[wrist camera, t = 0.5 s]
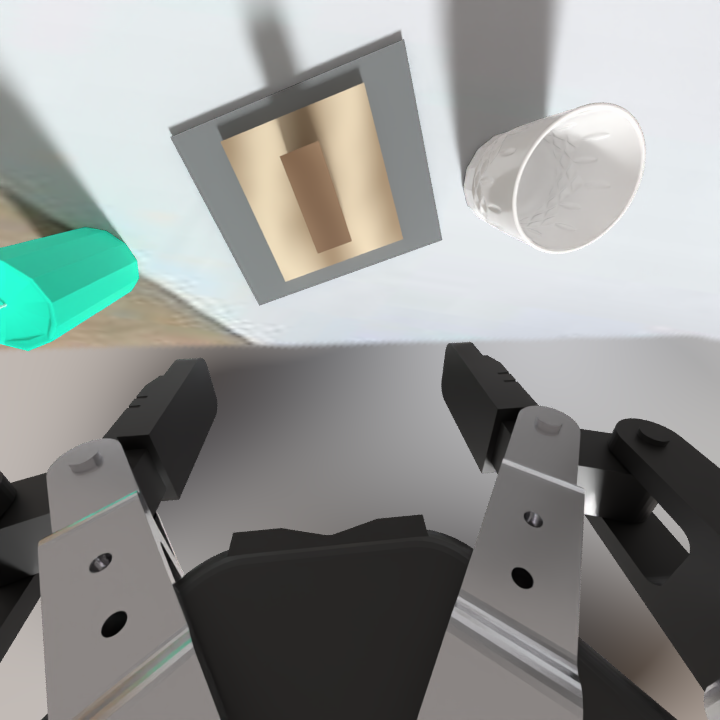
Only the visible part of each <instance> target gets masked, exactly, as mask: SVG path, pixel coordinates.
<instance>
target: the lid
mask: <svg viewBox="0 0 720 720" xmlns="http://www.w3.org/2000/svg"><path fill="white" fill-rule="evenodd" d="M221 144H222V146H223V148H224V150H225V153H226V155H227V157H228V159H229V161H230V163H231V166H232V168H233V170H234V172H235V174H236V176H237V178H238V181H239V183H240V185H241V187H242V189H243V191H244V194H245V196H246V198H247V200H248V202H249V204H250V206H251V209H252V211H253V213H254V215H255V217H256V219H257V221H258V224H259V226H260V228H261V230H262V232H263V234H264V237H265V239H266V241H267V243H268V245H269V247H270V249H271V252H272V254H273V256H274V258H275V260H276V262H277V265H278V267H279V269H280V271H281V273H282V275H283V277H284V280H285V282H286V281H289V280H292V279H295V278H297V277H300V276H303V275H306V274H308V273H311V272H314V271H317V270H320V269H322V268H325V267H328V266H331V265H333V264H336V263H339V262H342V261H344V260H347V259H350V258H353V257H355V256H358V255H361V254H364V253H366V252H369V251H372V250H375V249H377V248H380V247H383V246H386V245H388V244H391V243H394V242H397V241H399V240H402V239H403V236H402V232H401V228H400V224H399V220H398V216H397V212H396V208H395V204H394V200H393V196H392V192H391V188H390V184H389V180H388V176H387V172H386V168H385V164H384V160H383V156H382V152H381V148H380V144H379V140H378V136H377V132H376V128H375V124H374V120H373V116H372V112H371V108H370V104H369V100H368V96H367V93H366V89H365V85H364V83H362V84H359V85H357V86H354V87H352V88H350V89H347V90H345V91H342V92H340V93H337V94H335V95H333V96H330V97H328V98H325V99H323V100H320V101H318V102H316V103H313V104H311V105H308V106H306V107H303V108H301V109H299V110H296V111H294V112H291V113H289V114H286V115H284V116H282V117H279V118H277V119H274V120H272V121H269V122H267V123H265V124H262V125H260V126H257V127H255V128H252V129H250V130H248V131H245V132H243V133H240V134H238V135H235V136H233V137H231V138H228V139H226V140H223V141H221Z"/></svg>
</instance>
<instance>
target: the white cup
mask: <svg viewBox="0 0 720 720" xmlns="http://www.w3.org/2000/svg"><path fill="white" fill-rule="evenodd" d="M645 159H646V147H645V139H644V135H643V132H642V129H641V127H640V125H639V123H638V122H637V120H636V119H635V117H634V116H633V115H632V114H631V113H630V112H628V111H627V110H626V109H624V108H622V107H620V106H618V105H615V104H610V103H592V104H587V105H584V106H580V107H577V108H574V109H571V110H568V111H565V112H561V113H558V114H555V115H551V116H548V117H545V118H541V119H538V120H535V121H533V122H530V123H527V124H524V125H521V126H519V127H516V128H514V129H512V130H510V131H508V132H506V133H502V134H498V135H495V136H494V137H492V138H491V139H490V140H489V141H487V142H486V143H485V144H484V145H482V146H481V147H480V148H479V149H478V150H477V152H476V153H475V155H474V157H473V158H472V160H471V162H470V164H469V165H468V167H467V170H466V176H465V182H464V188H463V189H464V193H465V197H466V201H467V206H468V207H469V208H470V209H471V211H472V212H473V213H474V214H475V215H476V216H477V217H478V218H479V219H481V220H483V221H485V222H487V223H488V224H490V225H491V226H492V227H494V228H496V229H498V230H500V231H501V232H503V233H505V234H507V235H509V236H511V237H513V238H515V239H517V240H519V241H521V242H523V243H525V244H527V245H529V246H531V247H533V248H535V249H537V250H540V251H542V252H546V253H554V254H559V253H567V252H572V251H575V250H578V249H581V248H583V247H585V246H587V245H589V244H591V243H592V242H594V241H596V240H597V239H599V238H600V237H601V236H603V235H604V234H605V233H606V232H607V231H609V230H610V229H611V228H612V227H613V226H614V225H615V224H616V223H617V221H618V220H619V219H620V218H621V217H622V215H623V214H624V213H625V211H626V210H627V208H628V207H629V205H630V204H631V202H632V200H633V198H634V196H635V194H636V192H637V190H638V188H639V185H640V182H641V179H642V176H643V172H644V167H645Z"/></svg>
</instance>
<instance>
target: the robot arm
mask: <svg viewBox="0 0 720 720" xmlns="http://www.w3.org/2000/svg"><path fill="white" fill-rule="evenodd" d="M441 385H442V386H441V387H442V394H443V398H444V400H445V402H446V404H447V406H448V408H449V410H450V412H451V414H452V416H453V418H454V420H455V422H456V424H457V426H458V428H459V430H460V432H461V434H462V436H463V438H464V440H465V442H466V444H467V446H468V447H469V449H470V451H471V453H472V455H473V457H474V459H475V461H476V463H477V465H478V467H479V469H480V471H481V473H482V474H483V473H494V472H497V474H498V476H497V479H496V482H495V485H494V488H493V491H492V494H491V497H490V501H489V503H488V506H487V509H486V512H485V516H484V519H483V522H482V525H481V528H480V531H479V534H478V537H477V540H476V543H475V546H474V549H473V548H471V547H470V546H468V545H467V544H465V543H463V542H461V541H459V540H458V539H456V538H453V537H451V536H448V535H446V534H443V533H439V532H436V531H432V530H426V526H425V522H424V519H423V515H412V516H402V517H392V518H381V519H376V520H373V521H370V522H367V523H365V524H362V525H359V526H356V527H353V528H351V529H348V530H345V531H342V532H340V533H336V534H333V535H321V534H314V533H308V532H302V531H295V530H288V529H283V528H280V529H269V530H258V531H247V532H237V533H233V536H232V540H231V544H230V548H229V550H227V551H224V552H222V553H220V554H218V555H216V556H213V557H211V558H210V559H208V560H206V561H204V562H203V563H201V564H199V565H198V566H196V567H195V568H194V569H192V570H191V571H190V572H188V573H187V574H186V575H184V573H183V571H182V568H181V566H180V564H179V562H178V559H177V557H176V555H175V552H174V550H173V548H172V545H171V543H170V540H169V538H168V536H167V533H166V531H165V528H164V526H163V524H162V521H161V519H160V517H159V515H158V513H157V511H156V510H157V508H158V506H159V504H160V502H161V501H168V500H179V499H180V496H181V494H182V492H183V489H184V487H185V485H186V483H187V480H188V478H189V475H190V473H191V471H192V469H193V467H194V464H195V462H196V460H197V458H198V455H199V453H200V451H201V448H202V446H203V444H204V442H205V439H206V437H207V435H208V432H209V430H210V428H211V426H212V423H213V421H214V419H215V417H216V413H217V397H216V394H215V391H214V388H213V384H212V381H211V377H210V374H209V371H208V367H207V364H206V362H205V360H204V359H202V358H194V359H179V360H176V361H175V362H174V363H173V364H172V365H171V367H170V368H169V369H168V371H167V372H166V373H165V375H164V376H159V377H158V378H156V379H155V380H153V381H152V382H150V383H149V384H147V385H146V386H145V387H144V388H143V389H142V390H141V392H140V393H139V394H138V395H137V399H134V401H132V403H131V404H130V405H129V408H127V409H126V410H125V411H124V412H123V414H122V415H121V416H120V417H119V419H118V420H117V421H116V422H115V423H114V425H113V426H112V427H111V428H110V430H109V431H108V432H107V433H106V434H105V436H104V437H103V438H102V439H97V440H92V441H89V442H86V443H83V444H81V445H79V446H76V447H74V448H73V449H71V450H69V451H67V452H66V453H64V454H63V455H62V456H60V457H59V458H58V459H57V460H56V461H55V462H54V463H53V464H52V465H51V466H50V468H49V469H48V472H47V473H44V474H40V475H37V476H34V477H30V478H26V479H23V480H20V481H16V482H13V483H10V482H9V481H8V479H7V478H6V477H5V476H4V475H3V473H2V472H0V662H1V661H2V659H3V657H4V656H5V654H6V652H7V651H8V649H9V647H10V646H11V644H12V642H13V641H14V639H15V638H16V636H17V634H18V633H19V631H20V629H21V628H22V626H23V624H24V622H25V621H26V619H27V618H28V616H29V614H30V613H31V611H32V610H33V608H34V606H35V605H36V603H37V601H38V600H39V598H40V597H41V609H42V624H43V625H42V626H43V641H44V658H45V673H46V691H47V706H48V714H47V715H46V716H45V717H44V718H43V719H42V720H677V719H676V718H675V717H673V716H672V715H671V714H670V713H669V712H667V711H666V710H665V709H664V708H662V707H661V706H660V705H659V704H658V703H656V701H654V700H653V699H652V698H651V697H650V696H648V695H647V694H646V693H645V692H643V691H642V690H641V689H640V688H639V687H638V686H636V685H635V684H634V683H633V682H632V681H631V680H629V679H628V678H627V677H626V676H625V675H623V674H622V673H621V672H620V671H618V669H616V668H615V667H614V666H613V665H612V664H610V663H609V662H608V661H607V660H606V659H605V658H603V657H602V656H601V655H600V654H599V653H597V652H596V651H595V650H594V649H593V648H591V647H590V646H589V645H588V644H587V643H586V642H584V641H583V640H582V639H581V638H580V637H578V630H579V629H578V628H579V608H580V587H581V586H580V585H581V565H582V544H583V524H584V515H585V516H586V517H587V519H588V520H589V522H590V523H591V525H592V526H593V528H594V529H595V531H596V532H597V534H598V535H599V537H600V538H601V540H602V541H603V542H604V544H605V545H606V547H607V548H608V550H609V551H610V553H611V554H612V556H613V557H614V559H615V560H616V562H617V563H618V565H619V566H620V567H621V569H622V571H623V572H624V573H625V575H626V577H627V578H628V579H629V581H630V582H631V584H632V585H633V587H634V588H635V590H636V591H637V593H638V594H639V595H640V597H641V599H642V600H643V602H644V603H645V605H646V606H647V608H648V609H649V610H650V612H651V613H652V615H653V616H654V618H655V619H656V621H657V622H658V624H659V625H660V627H661V628H662V630H663V631H664V632H665V634H666V636H667V637H668V638H669V640H670V641H671V643H672V644H673V646H674V647H675V649H676V650H677V652H678V653H679V655H680V656H681V658H682V659H683V661H684V662H685V663H686V665H687V667H688V668H689V669H690V671H691V672H692V674H693V675H694V677H695V678H696V680H697V681H698V683H699V684H700V686H701V687H702V689H703V690H704V692H705V694H704V706H705V711H706V715H707V718H708V720H720V468H718V467H717V466H716V465H715V464H714V463H712V462H711V461H710V460H709V459H708V458H706V457H705V456H704V455H703V454H701V453H700V452H699V451H698V450H696V449H695V448H694V447H693V446H692V445H690V444H689V443H688V442H686V441H685V440H684V439H683V438H682V437H680V436H679V435H677V434H676V433H675V432H673V431H672V430H670V429H667V428H666V427H664V426H661V425H659V424H656V423H654V422H650V421H647V420H642V419H631V418H630V419H623V420H621V421H619V422H618V423H617V424H616V426H615V429H614V431H613V433H604V432H598V431H591V430H584V429H580V428H579V426H578V425H577V423H576V422H575V421H574V420H573V419H572V418H571V417H569V416H568V415H566V414H564V413H562V412H560V411H558V410H556V409H553V408H549V407H544V406H539V405H538V404H537V403H536V402H535V401H534V400H533V399H532V398H531V397H530V395H529V394H528V393H527V392H526V391H525V390H524V389H523V388H522V386H521V385H520V384H519V383H518V382H516V381H515V379H514V377H513V376H512V375H511V374H509V372H508V371H507V370H506V369H505V367H504V366H503V365H502V364H501V363H500V362H498V361H496V360H495V359H493V358H491V357H489V356H488V355H486V356H485V355H484V356H483V355H482V354H481V353H480V352H479V350H478V349H477V348H476V347H475V346H474V344H473V343H471V342H463V343H449V344H448V345H447V347H446V352H445V359H444V367H443V375H442V384H441ZM658 503H659V504H660V505H661V506H662V508H663V509H664V510H665V511H666V512H667V513H668V514H669V515H670V516H671V517H672V518H673V520H674V521H675V522H676V523H677V524H678V525H679V526H680V527H681V528H682V530H683V531H684V532H685V534H686V536H687V538H688V540H689V544H690V553H688V552H687V551H686V550H685V549H684V548H683V546H682V545H681V544H680V543H679V542H678V541H677V540H676V538H675V537H674V536H673V535H672V534H671V533H670V532H669V530H668V529H667V528H666V527H665V526H664V525H663V524H662V522H661V521H660V520H659V519H658V518H657V517H656V516H655V514H653V512H652V511H653V510H654V508H655V507H656V505H657V504H658Z"/></svg>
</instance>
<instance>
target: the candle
mask: <svg viewBox="0 0 720 720" xmlns="http://www.w3.org/2000/svg"><path fill="white" fill-rule="evenodd" d="M138 279H139V273H138V264H137V260H136V259H135V257H134V256H133V254H132V253H131V251H130V250H129V248H128V247H127V245H126V244H125V243H124V242H122V241H121V240H119V239H118V238H116V237H115V236H113V235H112V234H110V233H109V232H107V231H105V230H99V229H94V228H88V227H83V228H79V229H75V230H71V231H67V232H63V233H59V234H55V235H51V236H47V237H43V238H39V239H35V240H31V241H27V242H23V243H19V244H15V245H11V246H7V247H2V248H0V344H3V345H6V346H10V347H14V348H18V349H22V350H26V351H29V350H32V349H34V348H37V347H39V346H42V345H44V344H47V343H49V342H52V341H54V340H55V339H57V338H58V337H60V336H61V335H63V334H65V333H66V332H68V331H69V330H71V329H72V328H74V327H76V326H77V325H79V324H80V323H82V322H83V321H85V320H87V319H88V318H90V317H91V316H93V315H94V314H96V313H98V312H99V311H101V310H102V309H104V308H105V307H107V306H109V305H110V304H112V303H113V302H115V301H116V300H118V299H120V298H121V297H123V296H124V295H126V294H127V293H129V292H131V291H132V289H133V288H134V286H135V284H136V283H137V281H138Z"/></svg>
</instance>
